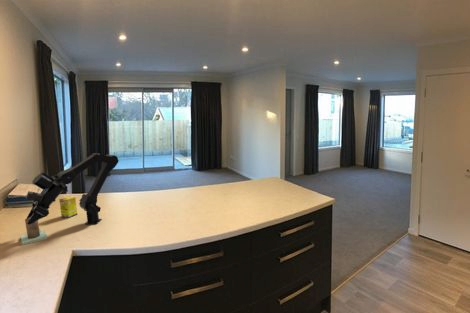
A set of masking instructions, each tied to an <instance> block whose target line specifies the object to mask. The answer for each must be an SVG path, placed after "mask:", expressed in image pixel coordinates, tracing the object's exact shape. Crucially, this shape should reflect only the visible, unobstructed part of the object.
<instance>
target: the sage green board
mask: <svg viewBox="0 0 470 313" xmlns="http://www.w3.org/2000/svg"><path fill="white" fill-rule="evenodd" d="M39 231H40V230H39ZM20 238H21V239H20V240H21V245H22V246H23V245H27V244H31V243H35V242H40V241H44V240H48V235H47V233H46V230H41V231H40V236H39V237H36V238H32V239H29V238H28V236H27V234H23V235H20Z"/></svg>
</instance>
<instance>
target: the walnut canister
mask: <svg viewBox="0 0 470 313" xmlns="http://www.w3.org/2000/svg"><path fill="white" fill-rule="evenodd" d="M30 218H31V217H29V218H27V217H26V218H25V219H24V222H25V228H26V229H25V230H26V233H27V234H26V235H27V236H28V238H29V239H32V238H36V237H39V236H40V226H39V220H37V221H35V222H33V223H32V224H30V225H29V224H27V223H28V221H29V219H30Z"/></svg>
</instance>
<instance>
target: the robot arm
mask: <svg viewBox="0 0 470 313" xmlns="http://www.w3.org/2000/svg"><path fill="white" fill-rule="evenodd" d="M97 162H101V165H100V166H101V168H100V170H99V172H98V174H97V176H96V178H95V180H94V182H93V183H92V185H91V187H90V189H89V191H88V192H87V193H86V194H85V193H82V195H81V198H80V199H79V203H78V204H79V207H80V208H81V209H83V210H84V211H85V212H86V222H85V223H84V225H97V224H99V223H100V222H101V221H102V218H100V217H99V213H100V212H101V207H100V206H99V205H98V204H97V203H98V196H99V193H100V191H101V190H102V187H103V186H104V184H105V182H106V180H107V178H108V176H109V174H110V172H111V171H113V170H114V169H115V167H116V166H117V165H118V163H119V158H118V156H117V155H113V154H103V155H102V154H100V153H95V152H94V153H91V155H90V156H88V157H86V158H84V159H83V160H81V161H80V162H79V163H76V164H75V165H74V166H72V167H70V168H67V169H64V170H61V171H60V172H58V173H57V174H56V175H53V176H50V175H48V174H47V173H46V172H43V171H41V172H40V173H39V174H38V175H37V176H35V177H34V178H33V180H32V182H31V183H32V185H34V186H36V187H38V188H40V189H42V190H46V191H43V192H42V193H40V192H39V193H38V192H35V191H29V190H28V192H27V193H26V196H25V200H27V201H32V202H31V204H32V208H31V209H30V211H29V213H28V214H27V216H26V218H29V217H31V218H30V219H29V221H28V223H27V224H29V225H30V224H32V223H33V222H35V221H37V220H38V221H39V220H41V219H43V218H45V217H48V215H49V214H50V210H49V209H50V206H51V205H52V204H53V203H55V202H56V200H57V198H58V197H59V196H60V195H61V193H62V192H64V191H65V192H66V193H68V192H69V190H68V185H69V184H71V183H73V181H75V179H76V178H77V177H78V176H79V175H80V174H81V173H83V172H84V171H85V170H87V169H88V168H89V167H91V166H93V165H94V164H96V163H97Z"/></svg>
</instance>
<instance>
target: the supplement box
mask: <svg viewBox="0 0 470 313" xmlns="http://www.w3.org/2000/svg"><path fill="white" fill-rule="evenodd" d="M58 200H59V207H60V208H59V209H60V213H61V214H60V215H61V218H67V219H71V218H73V217H75V216H77V215H78V209H77V208H78V207H77V201H76V196H70V195H67V196H64V197H61V198H59V199H58Z"/></svg>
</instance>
